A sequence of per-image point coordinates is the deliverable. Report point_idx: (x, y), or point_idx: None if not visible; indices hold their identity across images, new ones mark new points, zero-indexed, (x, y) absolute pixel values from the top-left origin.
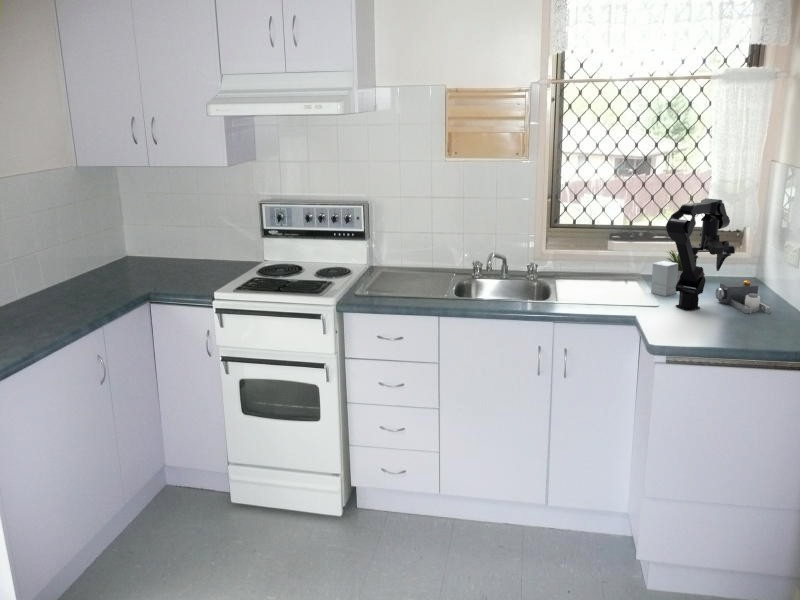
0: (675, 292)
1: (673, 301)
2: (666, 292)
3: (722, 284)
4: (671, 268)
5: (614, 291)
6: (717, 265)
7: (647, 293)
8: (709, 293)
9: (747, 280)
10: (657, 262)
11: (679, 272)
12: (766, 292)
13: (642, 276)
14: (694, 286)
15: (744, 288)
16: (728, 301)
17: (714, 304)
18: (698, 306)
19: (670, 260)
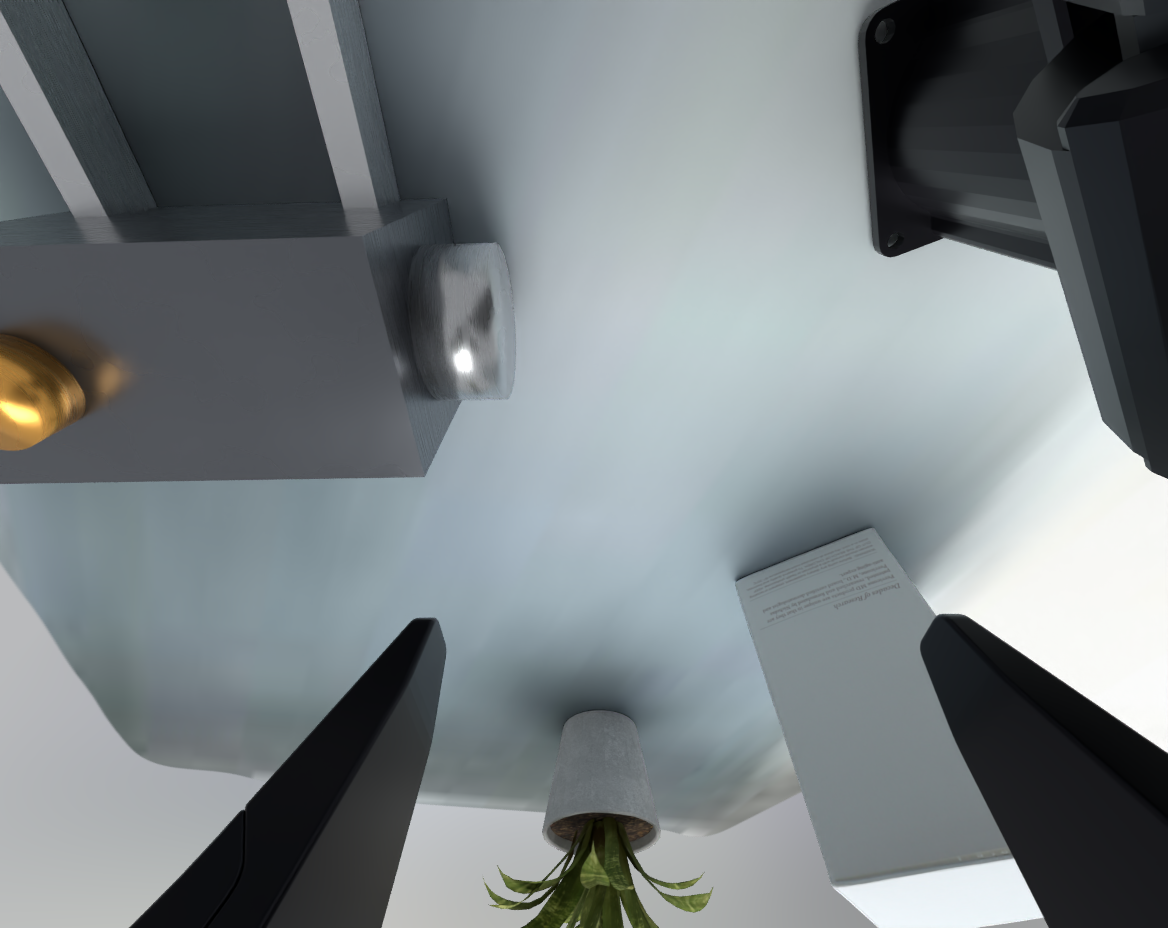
0: (747, 581)
1: (925, 384)
2: (881, 550)
3: (410, 415)
4: (971, 804)
5: (1119, 651)
6: (407, 757)
7: (942, 597)
8: (483, 554)
9: None
10: (1024, 918)
11: (620, 800)
12: (22, 532)
13: (720, 811)
14: None
15: (78, 237)
16: (408, 205)
17: (576, 222)
18: (870, 63)
19: (651, 924)
